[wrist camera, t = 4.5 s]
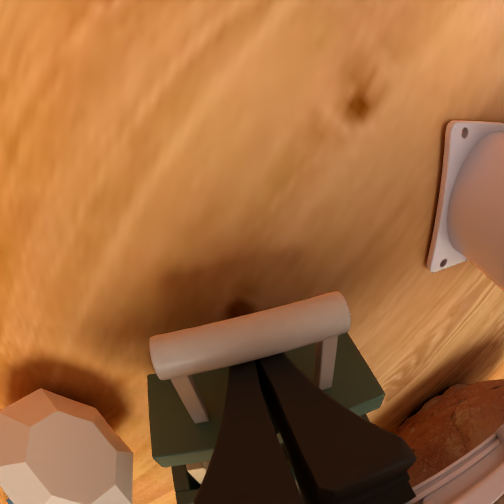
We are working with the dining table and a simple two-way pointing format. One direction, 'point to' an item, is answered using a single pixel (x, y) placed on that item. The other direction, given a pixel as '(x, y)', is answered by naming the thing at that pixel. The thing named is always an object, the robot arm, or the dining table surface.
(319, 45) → the dining table surface
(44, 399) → the chicken leg
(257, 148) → the dining table surface
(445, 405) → the jug
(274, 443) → the robot arm
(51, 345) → the dining table surface
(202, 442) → the green drawer
